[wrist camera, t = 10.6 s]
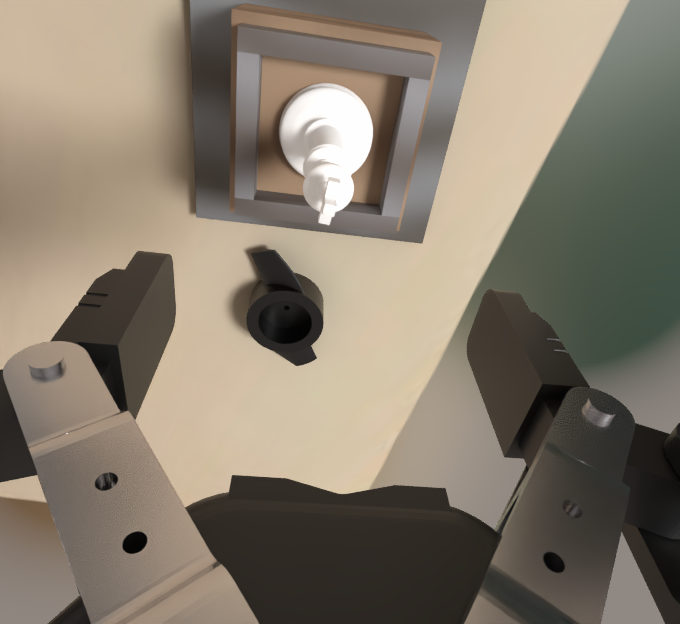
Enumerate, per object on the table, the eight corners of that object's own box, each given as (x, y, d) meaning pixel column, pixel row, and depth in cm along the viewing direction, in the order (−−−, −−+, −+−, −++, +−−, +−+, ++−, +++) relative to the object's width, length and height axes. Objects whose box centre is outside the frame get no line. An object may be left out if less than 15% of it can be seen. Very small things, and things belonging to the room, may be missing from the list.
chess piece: (271, 167, 26) (250, 255, 18) (289, 71, 24) (273, 123, 16) (358, 188, 27) (375, 280, 19) (384, 97, 25) (417, 159, 16)
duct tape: (226, 335, 41) (220, 358, 39) (256, 234, 36) (251, 252, 33) (313, 358, 43) (312, 381, 40) (354, 264, 37) (356, 284, 35)
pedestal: (191, -76, 25) (148, -91, 19) (487, -24, 27) (535, -22, 21) (199, 211, 34) (172, 263, 28) (420, 237, 36) (439, 292, 30)
